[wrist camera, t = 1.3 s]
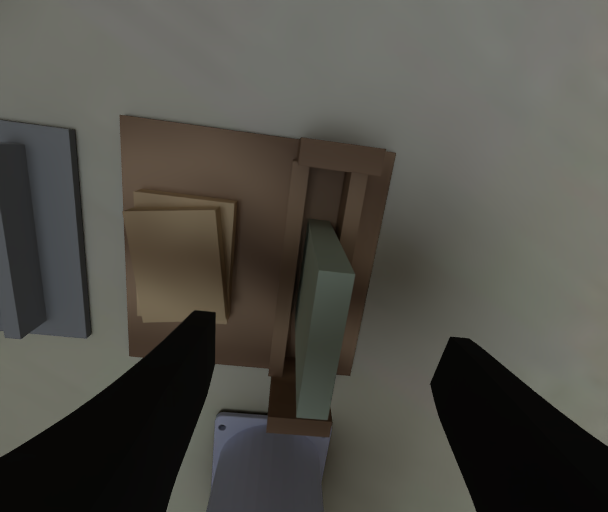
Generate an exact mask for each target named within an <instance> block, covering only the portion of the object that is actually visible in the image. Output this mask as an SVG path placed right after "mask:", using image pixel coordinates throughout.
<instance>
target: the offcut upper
mask: <svg viewBox="0 0 608 512" xmlns="http://www.w3.org/2000/svg"><path fill="white" fill-rule="evenodd" d="M122 212H123V218H124V223H125V228H126V234H127V239H128V244H129V250H130V255H131V261H132V266H133V271H134V277H135V282H136V288H137V293H138V298H139V304H140V309H141V315H142V320H143V323H148V322H182V321H183V320H185V319H186V318H187V317H188V316H189V315H190V314H191V313H192V312H193V311H194V310H200V311H209V312H216V321H226V319H227V316H228V313H229V305H228V294H227V283H226V272H225V261H224V250H223V239H222V228H221V217H220V206H205V207H142V208H130V209H127V210H125V211H122Z"/></svg>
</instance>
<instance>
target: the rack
mask: <svg viewBox="0 0 608 512" xmlns="http://www.w3.org/2000/svg"><path fill="white" fill-rule="evenodd" d="M120 137H121V162H122V186H123V211H125V210H127V209H130V208H134V194H133V191H136V190H140V189H147V190H155V191H164V192H172V193H180V194H188V195H196V196H204V197H212V198H220V199H229V200H237V215H236V230H235V245H234V260H233V275H232V290H231V305H230V317H229V319H228V322H227V324H216V334H215V364H223V365H234V366H245V367H257V368H268V369H269V373H268V376H271V385H270V396H269V407H268V417H267V428H266V433H275V434H289V435H302V436H315V437H330V431H331V426H332V416H331V409H330V410H329V415H328V420H320V419H307V418H296V355H295V311H296V304H297V297H298V289H299V282H300V275H301V267H302V260H303V252H304V245H305V238H306V230H307V223H308V218H309V219H317V220H325V221H330V223H331V225H332V227H333V229H334V231H335V233H336V235H337V237H338V239H339V241H340V244H341V246H342V248H343V250H344V252H345V254H346V256H347V258H348V260H349V262H350V264H351V266H352V268H353V270H354V273H355V279H354V284H353V290H352V295H351V300H350V305H349V310H348V316H347V321H346V326H345V331H344V337H343V342H342V347H341V352H340V358H339V363H338V368H337V373H336V375H347V376H350V374H351V369H352V364H353V359H354V354H355V349H356V345H357V340H358V335H359V330H360V325H361V320H362V316H363V311H364V306H365V301H366V296H367V291H368V287H369V282H370V277H371V272H372V267H373V262H374V257H375V253H376V248H377V243H378V238H379V233H380V228H381V224H382V219H383V214H384V209H385V204H386V199H387V195H388V190H389V185H390V180H391V175H392V170H393V166H394V161H395V156H396V153H393V152H386V149H381V148H374V147H367V146H360V145H352V144H345V143H338V142H331V141H323V140H316V139H309V138H302V137H301V138H300V139H291V138H284V137H277V136H270V135H262V134H255V133H248V132H241V131H233V130H226V129H219V128H212V127H204V126H197V125H190V124H183V123H175V122H168V121H161V120H154V119H146V118H139V117H132V116H125V115H120ZM124 236H125V261H126V286H127V310H128V335H129V356H132V357H143V358H144V357H145V356H146V355H147V354H148V353H149V352H150V351H152V350H153V349H154V348H155V347H156V346H157V345H158V344H159V343H160V342H162V341H163V340H164V339H165V338H166V337H167V336H168V335H169V334H170V333H171V332H172V331H173V330H174V329H175V328H176V327H177V326H178V325H179V324H180V323H181V322H148V323H143V320H142V316H137V293H136V282H135V277H134V271H133V266H132V261H131V255H130V250H129V244H128V239H127V234H126V228H125V223H124Z"/></svg>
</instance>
